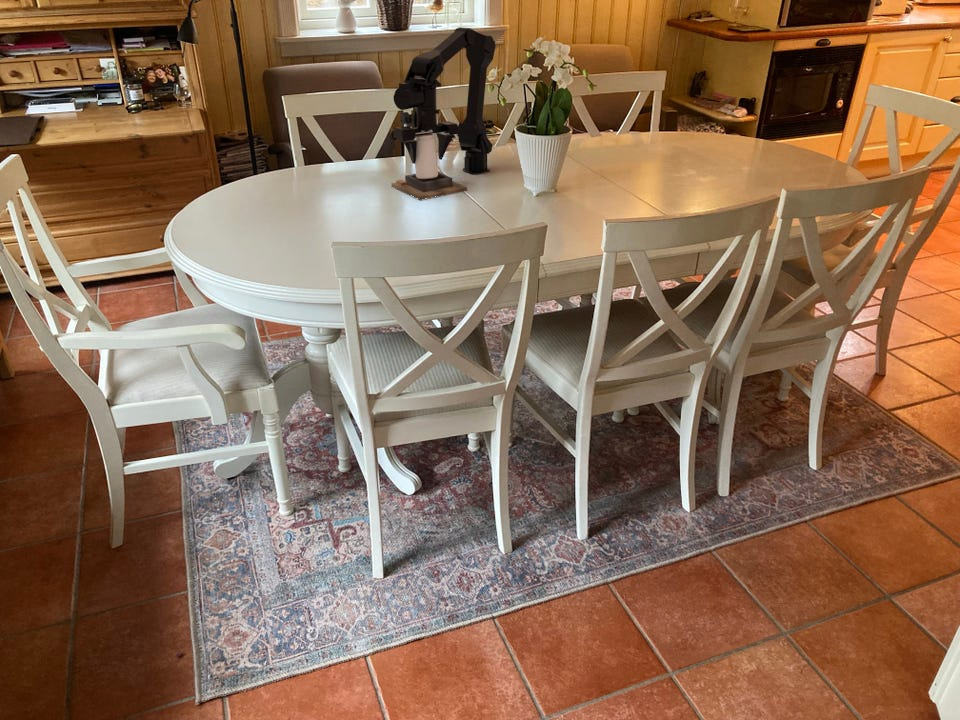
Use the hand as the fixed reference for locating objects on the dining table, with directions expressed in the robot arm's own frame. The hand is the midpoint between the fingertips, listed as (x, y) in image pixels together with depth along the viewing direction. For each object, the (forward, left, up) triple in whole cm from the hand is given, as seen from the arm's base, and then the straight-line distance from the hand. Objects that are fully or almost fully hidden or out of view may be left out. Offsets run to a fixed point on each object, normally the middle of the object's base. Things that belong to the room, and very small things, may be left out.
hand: (427, 161), depth 217 cm
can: (+1, +1, -5) cm, 5 cm away
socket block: (0, 0, -8) cm, 8 cm away
